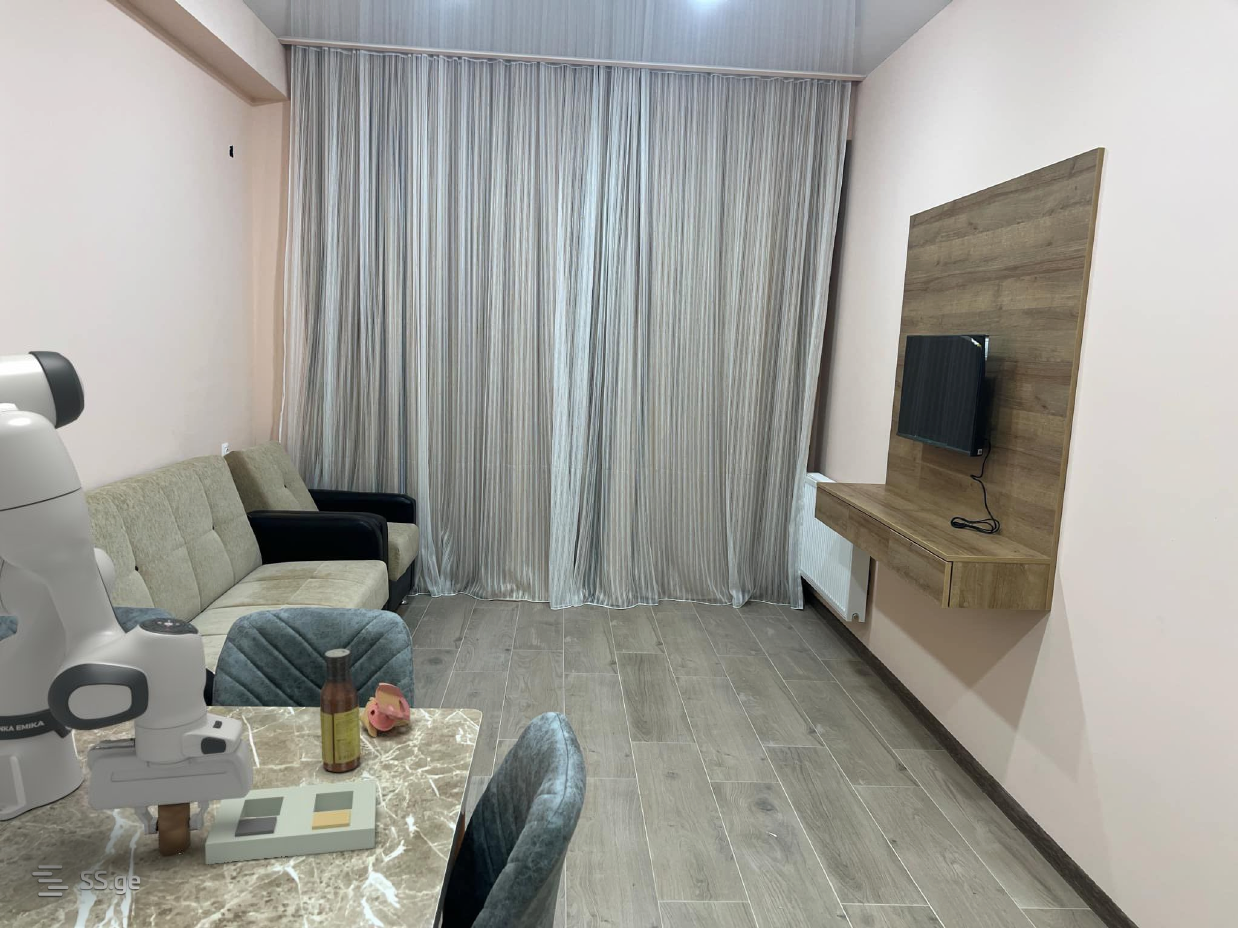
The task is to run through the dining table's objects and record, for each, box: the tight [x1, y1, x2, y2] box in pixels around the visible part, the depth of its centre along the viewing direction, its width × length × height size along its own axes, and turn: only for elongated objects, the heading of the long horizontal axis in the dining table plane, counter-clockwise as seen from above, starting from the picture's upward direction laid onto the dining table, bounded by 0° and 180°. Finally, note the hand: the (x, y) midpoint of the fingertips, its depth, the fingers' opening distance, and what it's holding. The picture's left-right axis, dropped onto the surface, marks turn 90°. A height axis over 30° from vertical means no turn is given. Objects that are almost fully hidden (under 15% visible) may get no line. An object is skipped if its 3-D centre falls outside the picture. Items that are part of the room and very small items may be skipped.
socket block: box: [204, 779, 377, 866], centre depth 126 cm, size 22×14×4 cm, turn 105°
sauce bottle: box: [319, 648, 362, 773], centre depth 145 cm, size 6×6×20 cm
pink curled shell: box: [359, 682, 411, 738], centre depth 160 cm, size 9×10×10 cm
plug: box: [157, 802, 192, 857], centre depth 120 cm, size 4×4×7 cm
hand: (174, 830), depth 120 cm, fingers open, 4 cm apart
